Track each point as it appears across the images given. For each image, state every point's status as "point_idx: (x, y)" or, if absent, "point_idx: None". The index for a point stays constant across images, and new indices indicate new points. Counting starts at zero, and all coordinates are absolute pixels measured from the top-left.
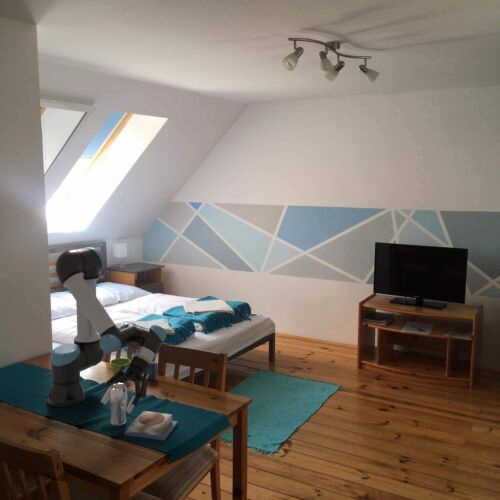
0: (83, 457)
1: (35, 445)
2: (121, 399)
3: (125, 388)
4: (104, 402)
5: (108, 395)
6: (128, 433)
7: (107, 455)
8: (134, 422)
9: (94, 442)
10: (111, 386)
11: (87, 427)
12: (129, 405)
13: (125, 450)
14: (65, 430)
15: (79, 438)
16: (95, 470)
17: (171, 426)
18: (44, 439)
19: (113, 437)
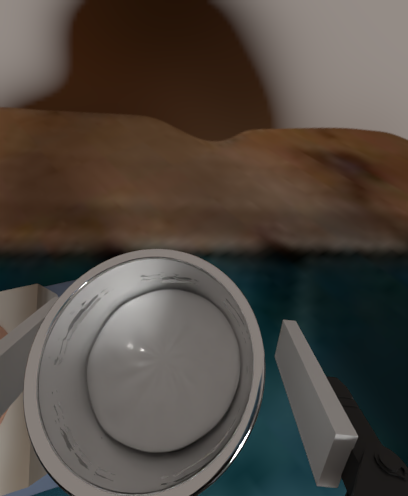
0: (130, 139)
1: (283, 131)
2: (100, 319)
3: (32, 374)
4: (279, 344)
5: (297, 389)
6: (63, 283)
7: (72, 167)
8: (24, 306)
9: (155, 200)
10: (250, 338)
11: (255, 261)
12: (27, 319)
13: (31, 206)
14: (296, 213)
15: (215, 197)
16: (65, 116)
17: None
18: (294, 156)
19: (117, 250)
